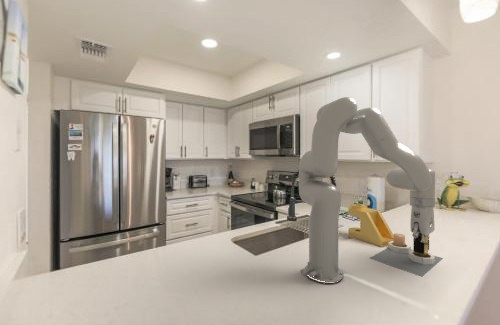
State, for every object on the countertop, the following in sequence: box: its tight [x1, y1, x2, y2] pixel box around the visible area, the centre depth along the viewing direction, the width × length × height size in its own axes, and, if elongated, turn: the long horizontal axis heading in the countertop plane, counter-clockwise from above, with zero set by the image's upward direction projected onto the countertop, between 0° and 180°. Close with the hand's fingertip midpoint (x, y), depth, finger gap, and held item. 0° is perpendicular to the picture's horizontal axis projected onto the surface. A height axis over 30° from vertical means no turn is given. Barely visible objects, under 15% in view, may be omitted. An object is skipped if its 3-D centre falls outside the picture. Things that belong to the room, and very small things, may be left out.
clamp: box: [347, 203, 394, 248], centre depth 109 cm, size 20×9×16 cm, turn 26°
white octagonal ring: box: [409, 249, 436, 265], centre depth 86 cm, size 7×7×2 cm
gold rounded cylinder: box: [415, 232, 429, 258], centre depth 86 cm, size 4×4×10 cm
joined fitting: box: [387, 233, 412, 253], centre depth 96 cm, size 7×7×6 cm
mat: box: [369, 247, 444, 277], centre depth 88 cm, size 22×17×1 cm
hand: (421, 250), depth 86 cm, fingers open, 4 cm apart
